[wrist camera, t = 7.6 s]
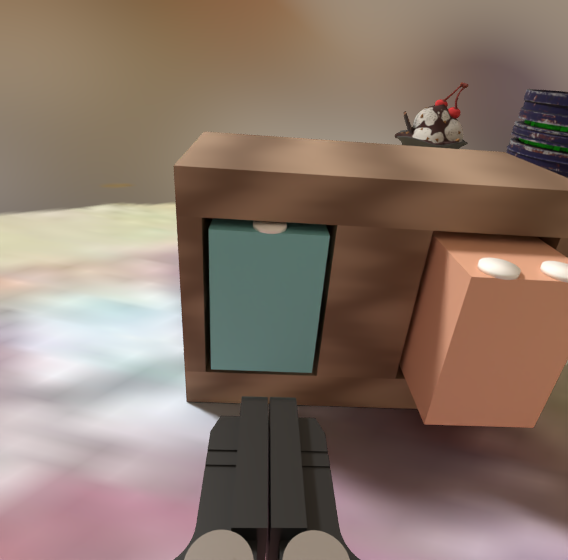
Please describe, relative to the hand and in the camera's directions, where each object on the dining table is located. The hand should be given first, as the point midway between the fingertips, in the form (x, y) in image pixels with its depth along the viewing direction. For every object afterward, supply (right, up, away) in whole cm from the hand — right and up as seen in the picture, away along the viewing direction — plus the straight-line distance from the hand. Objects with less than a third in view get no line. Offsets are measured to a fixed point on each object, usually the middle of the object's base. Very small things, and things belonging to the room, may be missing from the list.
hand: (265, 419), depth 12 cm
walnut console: (+4, -1, +14) cm, 14 cm away
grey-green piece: (-1, +1, +11) cm, 11 cm away
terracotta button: (+9, -1, +9) cm, 13 cm away
